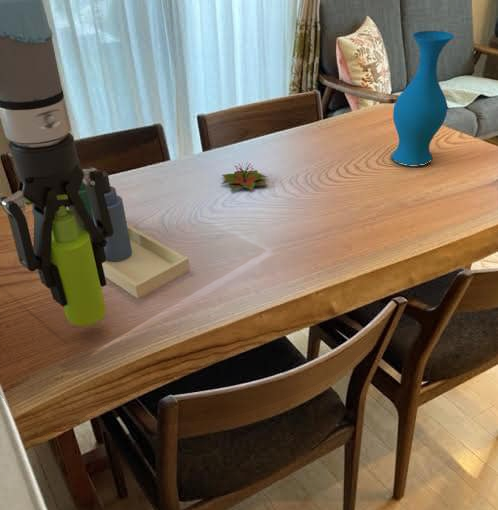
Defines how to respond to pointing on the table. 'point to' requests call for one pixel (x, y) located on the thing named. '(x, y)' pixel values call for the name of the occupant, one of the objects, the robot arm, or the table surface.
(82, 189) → the green bottle
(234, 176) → the lily flower
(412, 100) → the vase
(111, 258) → the smoky-blue bottle
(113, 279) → the tray
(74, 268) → the soap dispenser
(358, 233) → the table surface
